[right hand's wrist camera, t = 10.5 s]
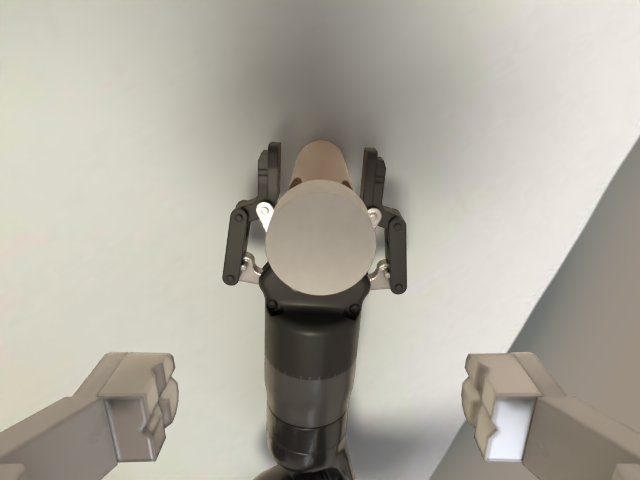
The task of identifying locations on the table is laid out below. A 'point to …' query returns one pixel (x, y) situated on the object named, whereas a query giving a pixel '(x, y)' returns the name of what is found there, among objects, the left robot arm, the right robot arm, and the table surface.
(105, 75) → the table surface
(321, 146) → the jar
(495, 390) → the right robot arm
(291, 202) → the lid
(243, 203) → the left robot arm
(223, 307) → the table surface
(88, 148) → the table surface
